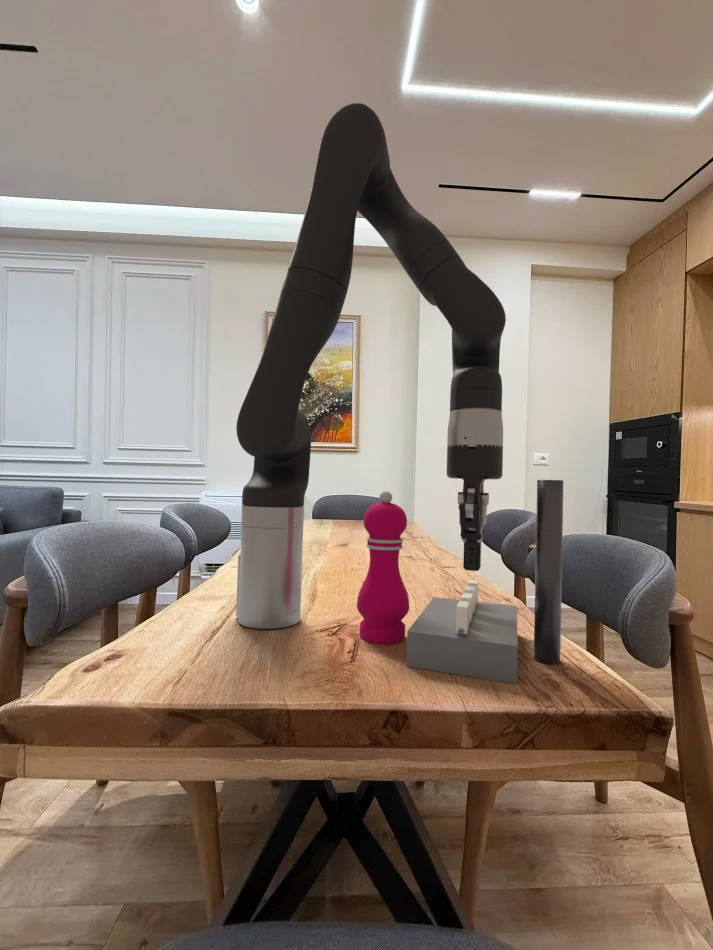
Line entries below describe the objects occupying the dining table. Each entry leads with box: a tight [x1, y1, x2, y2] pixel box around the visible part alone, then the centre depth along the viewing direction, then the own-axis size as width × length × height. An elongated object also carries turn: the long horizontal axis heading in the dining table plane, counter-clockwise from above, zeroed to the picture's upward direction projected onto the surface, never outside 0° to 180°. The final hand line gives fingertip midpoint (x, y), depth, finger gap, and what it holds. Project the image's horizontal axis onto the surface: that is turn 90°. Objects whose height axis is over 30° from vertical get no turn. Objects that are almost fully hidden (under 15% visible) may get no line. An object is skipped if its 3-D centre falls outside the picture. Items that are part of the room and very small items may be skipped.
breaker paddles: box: [456, 579, 479, 635], centre depth 59 cm, size 1×16×3 cm, turn 160°
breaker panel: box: [406, 596, 519, 685], centre depth 59 cm, size 12×18×4 cm, turn 161°
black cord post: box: [533, 479, 564, 665], centre depth 56 cm, size 3×3×22 cm
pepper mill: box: [356, 490, 410, 645], centre depth 63 cm, size 7×7×20 cm
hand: (471, 569), depth 63 cm, fingers closed
